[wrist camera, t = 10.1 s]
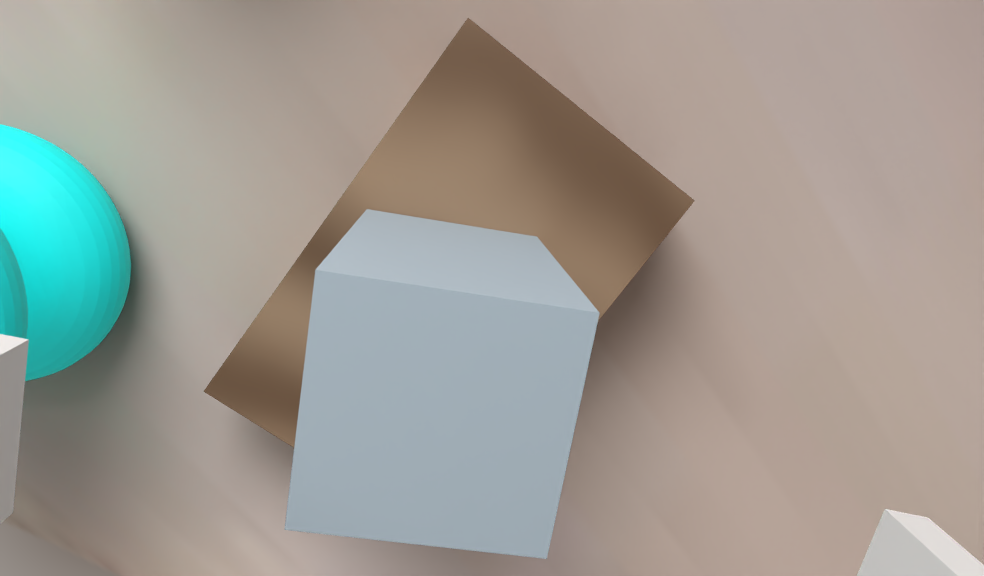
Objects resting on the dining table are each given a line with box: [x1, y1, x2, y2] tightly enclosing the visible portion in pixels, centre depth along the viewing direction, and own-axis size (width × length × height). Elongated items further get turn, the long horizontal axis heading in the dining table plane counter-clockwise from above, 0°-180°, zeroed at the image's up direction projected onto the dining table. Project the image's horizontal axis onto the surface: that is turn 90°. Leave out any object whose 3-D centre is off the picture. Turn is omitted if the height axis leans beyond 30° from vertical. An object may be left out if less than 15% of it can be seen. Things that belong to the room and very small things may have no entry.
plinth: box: [204, 18, 694, 447], centre depth 27 cm, size 16×10×5 cm, turn 143°
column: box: [285, 209, 600, 559], centre depth 20 cm, size 6×6×10 cm
